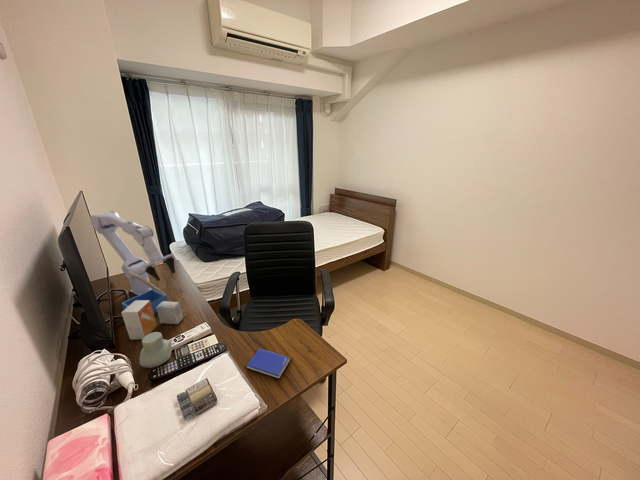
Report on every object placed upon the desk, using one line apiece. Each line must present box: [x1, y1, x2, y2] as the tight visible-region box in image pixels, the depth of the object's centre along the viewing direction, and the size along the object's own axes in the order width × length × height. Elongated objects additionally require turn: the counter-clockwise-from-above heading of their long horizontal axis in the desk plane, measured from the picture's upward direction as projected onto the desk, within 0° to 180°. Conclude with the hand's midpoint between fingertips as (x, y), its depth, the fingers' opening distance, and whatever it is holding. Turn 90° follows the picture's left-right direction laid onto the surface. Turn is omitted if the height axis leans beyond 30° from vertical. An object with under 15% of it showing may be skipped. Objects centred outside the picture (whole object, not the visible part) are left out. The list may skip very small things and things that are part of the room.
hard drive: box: [246, 348, 291, 379], centre depth 88 cm, size 2×8×12 cm
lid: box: [129, 271, 167, 296], centre depth 115 cm, size 14×12×1 cm
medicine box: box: [156, 301, 184, 325], centre depth 108 cm, size 8×4×9 cm, turn 84°
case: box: [120, 289, 169, 314], centre depth 116 cm, size 14×12×6 cm
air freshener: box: [138, 331, 173, 369], centre depth 88 cm, size 11×8×10 cm
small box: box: [121, 300, 158, 341], centre depth 101 cm, size 8×6×13 cm
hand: (166, 276), depth 121 cm, fingers open, 7 cm apart
